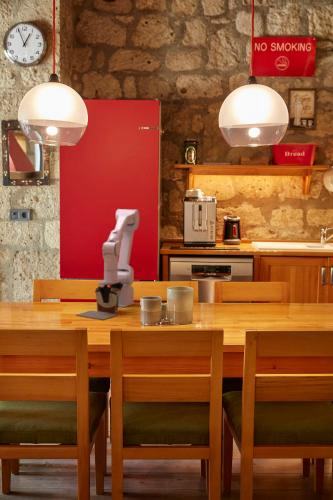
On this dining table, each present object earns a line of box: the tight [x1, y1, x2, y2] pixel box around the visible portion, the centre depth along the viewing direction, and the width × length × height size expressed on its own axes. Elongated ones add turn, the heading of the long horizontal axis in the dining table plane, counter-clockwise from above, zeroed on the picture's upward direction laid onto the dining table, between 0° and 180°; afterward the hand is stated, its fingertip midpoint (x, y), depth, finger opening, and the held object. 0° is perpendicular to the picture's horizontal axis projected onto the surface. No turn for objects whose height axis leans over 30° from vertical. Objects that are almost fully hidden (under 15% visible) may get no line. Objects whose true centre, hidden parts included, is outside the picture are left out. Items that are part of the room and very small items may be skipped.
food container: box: [94, 287, 121, 315], centre depth 236 cm, size 12×6×10 cm, turn 59°
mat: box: [75, 310, 119, 321], centre depth 229 cm, size 10×14×1 cm
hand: (110, 301), depth 236 cm, fingers open, 6 cm apart
